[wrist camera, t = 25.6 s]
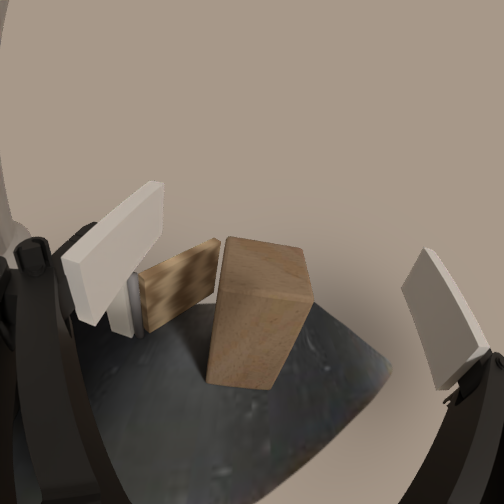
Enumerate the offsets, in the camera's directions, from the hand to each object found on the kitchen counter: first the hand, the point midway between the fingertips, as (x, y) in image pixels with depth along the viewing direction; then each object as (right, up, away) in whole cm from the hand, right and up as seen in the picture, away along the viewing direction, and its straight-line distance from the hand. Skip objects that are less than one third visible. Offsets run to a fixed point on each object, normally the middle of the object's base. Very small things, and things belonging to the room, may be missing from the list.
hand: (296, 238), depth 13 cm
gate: (-16, -11, +37) cm, 42 cm away
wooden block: (-4, -18, +30) cm, 35 cm away
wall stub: (-24, -14, +30) cm, 40 cm away
